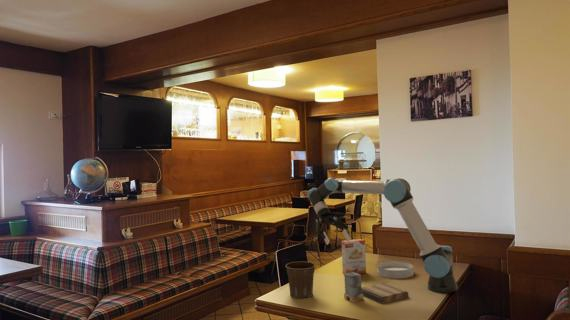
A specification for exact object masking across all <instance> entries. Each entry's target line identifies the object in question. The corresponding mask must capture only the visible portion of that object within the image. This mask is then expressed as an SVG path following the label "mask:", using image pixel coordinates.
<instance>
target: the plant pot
mask: <svg viewBox="0 0 570 320" xmlns="http://www.w3.org/2000/svg"><path fill="white" fill-rule="evenodd" d="M315 267H316V264H315V263H314V262H310V261H292V262H288V263H286V264H285V268H286V273H287V277H288V286H289V287H288V288H289V295H290V296H291V297H293V298H295V299H304V298H310V297H312V296H313V293H314V292H313V291H314V274H315Z"/></svg>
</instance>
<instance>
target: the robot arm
mask: <svg viewBox="0 0 570 320" xmlns="http://www.w3.org/2000/svg"><path fill="white" fill-rule="evenodd" d="M411 189H412V188H411V185H410V183H409V182H408V181H407V180H406V179H404V178H392V179H386V180H382V181H381V180H345V179H343V180H341V179H335V178H333V177H328V179H326V180H325V181H324V182H323V183H322V184H320V186H318V188H317V187H312V188H311V189H309V190H308V192H307V193H306V194H307V195H306V196H307V198H308V201H309V202H310V203H311V205H312V207H313V209H314V211H315V214H316V216H317V218H316V219H315V223H316V226H315V227H316V229H315V231H316V232H315V233H316V234H317V235H318V236H320V237H321V238H322V240H324V242H325V244H326V245H327V246H328V245H329V244H330V242H331V241H330V239H329V237H328V235H327V233H326V232H325V227H326V226H334V227H336V228H338V229H339V230H341V231H342V234H343V236H344V238H345V239H346V240H347V241H349V240H352V238H351V236H350V235H349V231H348V229H349V226H348V225H347V224H346V223H345V222H344V221H343V220H342V219H341V218H339V216H338V215H335V216H333V215H332V212H331V210H330V209H329V206H328V204H327V203H326V202H325V200H326V199H327V198H328V197H329V196H330V195H332V194H337V193H338V194H365V195H383V196H384V198H385V199H386V200H387V201H388V202H389V203H390V204H391V206H392V208H393V209H395V210H397V211H398V213H399V215H400V216H401V218H402V221H403V222H404V224H405V225H406V227H407V229H408V231H409V233H410V234H411V236H412V238H413V240H414V241H415V243H416V245H417V247H418V249H419V251H420V252H419V257H420V259H421V260H422V262H423V267H424V271H425V272H426V274H427V275H429V277H428V281H427V285H426V286H427V289H428V290H429V291H432V292H436V293H444V294H445V293H455V292H457V291H458V284H457V282H456V278H455V276H454V268H453V267H454V265H453V263H454V262H453V259H454V258H453V249H452V246H449V245H440V244H437V242H436V241H435V240H434V238H433V236H432V234H431V232H430V231H429V229H428V227H427V225H426V223H425V222H424V220H423V218H422V217H421V215H420V213H419V212H418V210H417V208H416V206H415V204H414V202H413V201H414V197H413V195H412V193H411V191H412V190H411ZM321 223H322V225H321Z"/></svg>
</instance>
